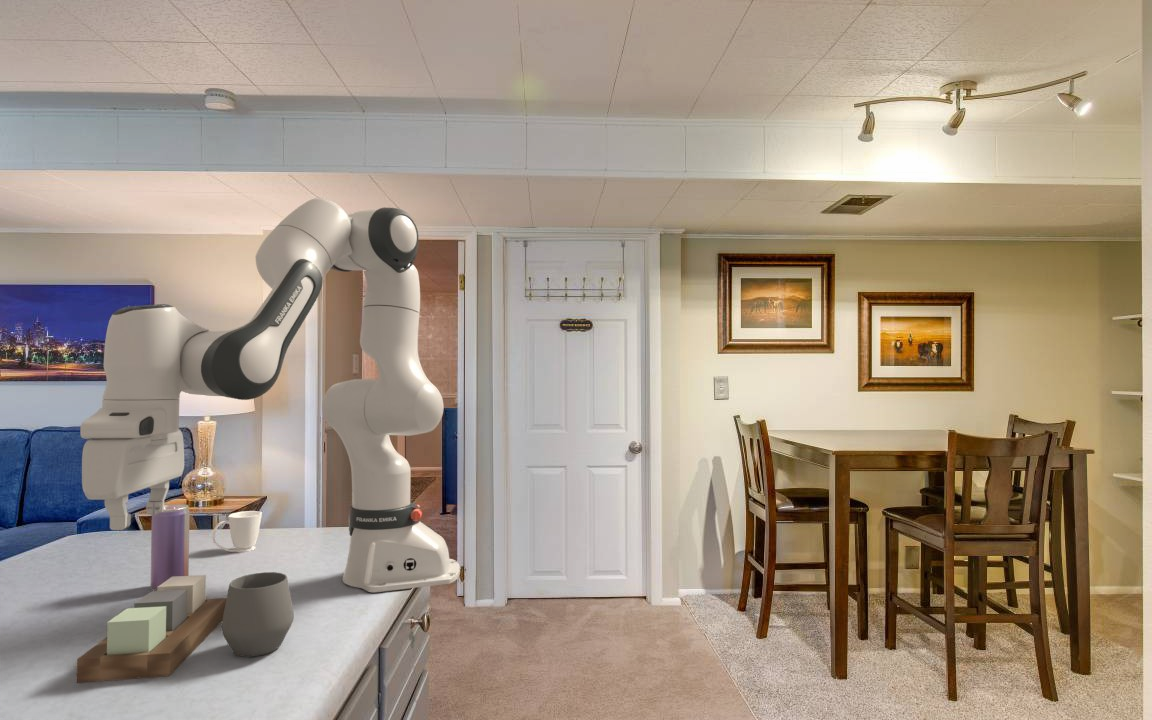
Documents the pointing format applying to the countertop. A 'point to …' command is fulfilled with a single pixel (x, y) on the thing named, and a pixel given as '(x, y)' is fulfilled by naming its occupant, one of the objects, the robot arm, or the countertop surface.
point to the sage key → (136, 630)
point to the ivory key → (188, 589)
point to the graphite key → (167, 605)
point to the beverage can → (169, 544)
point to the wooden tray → (158, 659)
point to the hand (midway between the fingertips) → (138, 520)
